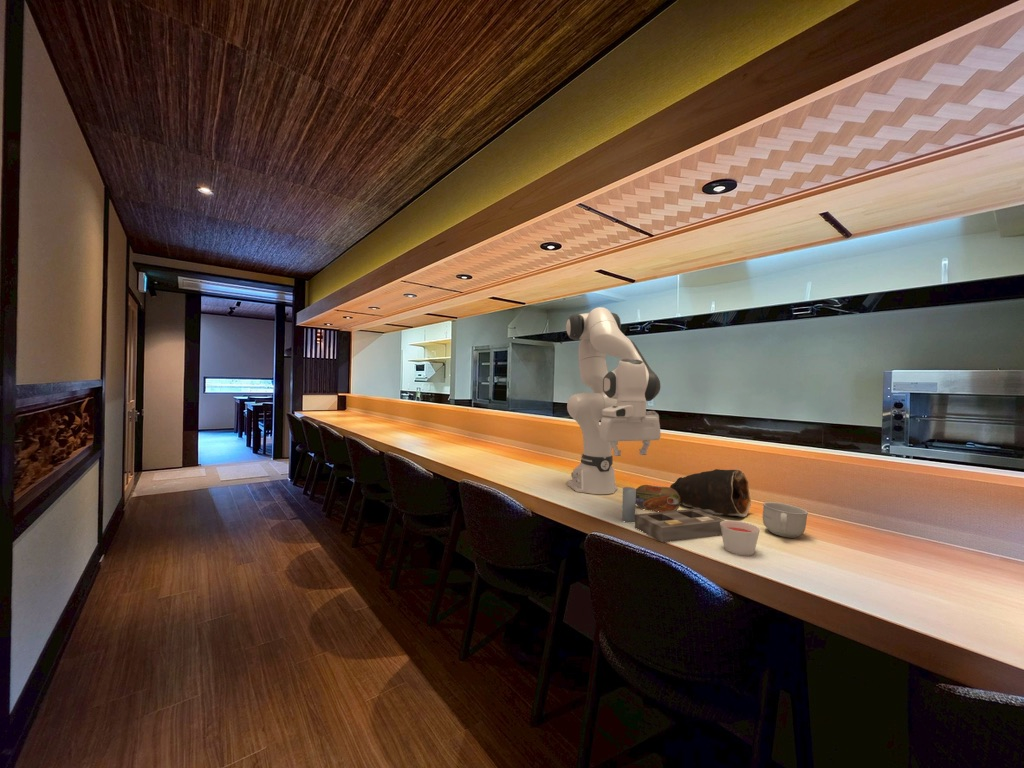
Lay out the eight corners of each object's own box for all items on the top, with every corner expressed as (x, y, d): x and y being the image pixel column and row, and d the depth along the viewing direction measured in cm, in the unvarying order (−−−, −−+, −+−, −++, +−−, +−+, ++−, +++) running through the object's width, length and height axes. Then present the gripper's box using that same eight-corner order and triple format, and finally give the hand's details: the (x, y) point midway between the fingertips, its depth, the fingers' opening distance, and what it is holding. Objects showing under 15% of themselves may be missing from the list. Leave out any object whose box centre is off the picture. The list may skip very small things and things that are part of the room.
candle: (743, 560, 102) (744, 534, 102) (711, 546, 110) (712, 522, 110) (767, 554, 106) (767, 529, 106) (734, 542, 114) (735, 518, 114)
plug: (619, 519, 131) (620, 487, 131) (630, 518, 132) (631, 486, 132) (626, 523, 127) (627, 490, 127) (638, 522, 128) (638, 489, 128)
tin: (633, 508, 144) (633, 483, 144) (634, 506, 146) (635, 482, 146) (679, 515, 137) (680, 489, 137) (680, 512, 139) (681, 487, 139)
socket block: (634, 527, 123) (635, 513, 123) (694, 521, 131) (694, 507, 131) (662, 542, 112) (662, 526, 112) (725, 534, 119) (725, 519, 119)
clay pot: (675, 466, 160) (744, 463, 141) (684, 506, 159) (755, 508, 140) (656, 476, 149) (728, 475, 131) (665, 518, 149) (739, 523, 130)
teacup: (768, 525, 128) (768, 499, 128) (810, 534, 121) (811, 507, 121) (754, 536, 119) (755, 507, 119) (799, 547, 111) (800, 517, 111)
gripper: (652, 410, 136) (651, 452, 136) (597, 410, 129) (596, 454, 129) (665, 411, 130) (664, 455, 130) (608, 411, 123) (607, 458, 123)
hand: (630, 455), depth 130 cm, fingers open, 8 cm apart
